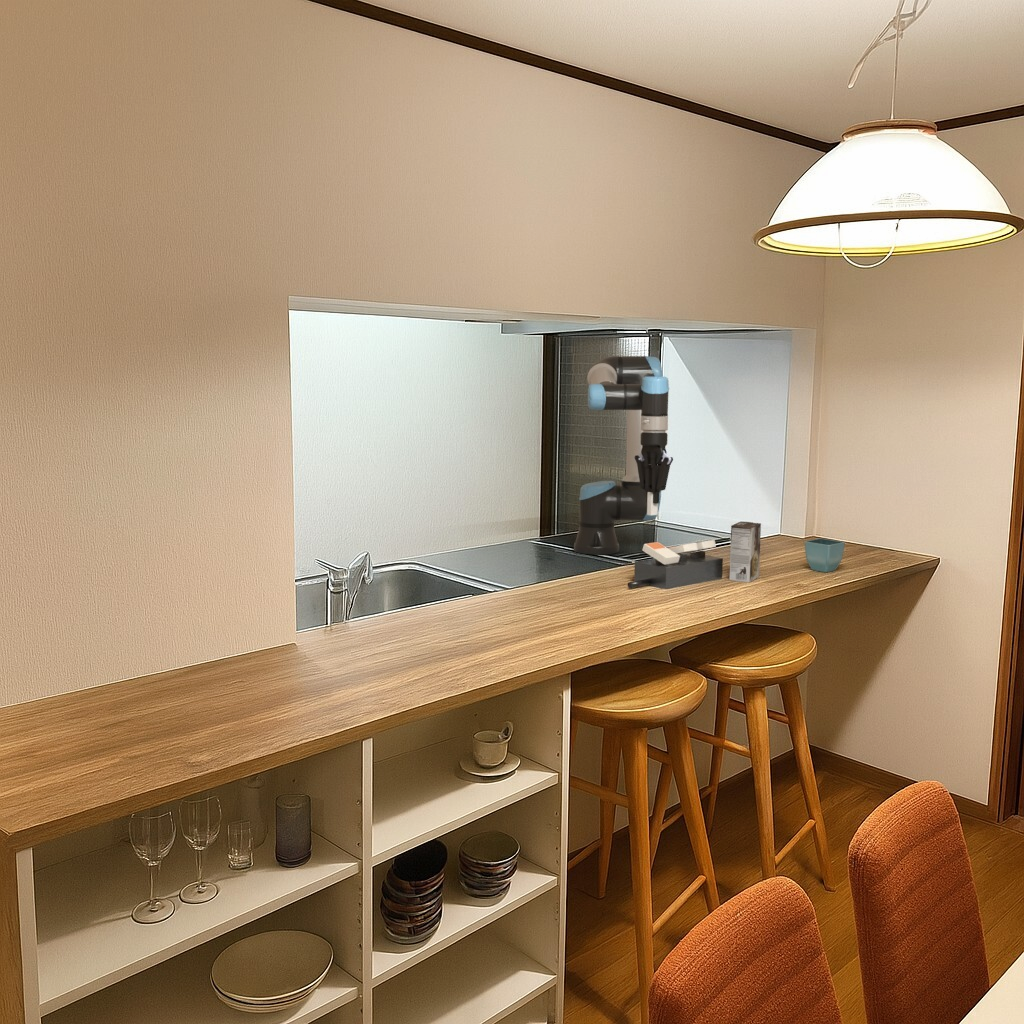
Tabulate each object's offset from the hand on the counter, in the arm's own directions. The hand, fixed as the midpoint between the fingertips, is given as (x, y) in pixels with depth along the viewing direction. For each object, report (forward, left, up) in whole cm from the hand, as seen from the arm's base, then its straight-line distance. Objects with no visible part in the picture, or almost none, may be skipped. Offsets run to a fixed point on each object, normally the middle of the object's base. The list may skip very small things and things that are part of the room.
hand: (652, 514), depth 278 cm
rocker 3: (+5, +15, -11) cm, 19 cm away
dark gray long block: (+5, +3, -19) cm, 20 cm away
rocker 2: (+5, +7, -11) cm, 14 cm away
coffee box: (+15, +24, -19) cm, 34 cm away
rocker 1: (+5, -1, -11) cm, 12 cm away
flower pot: (+22, +53, -19) cm, 60 cm away
